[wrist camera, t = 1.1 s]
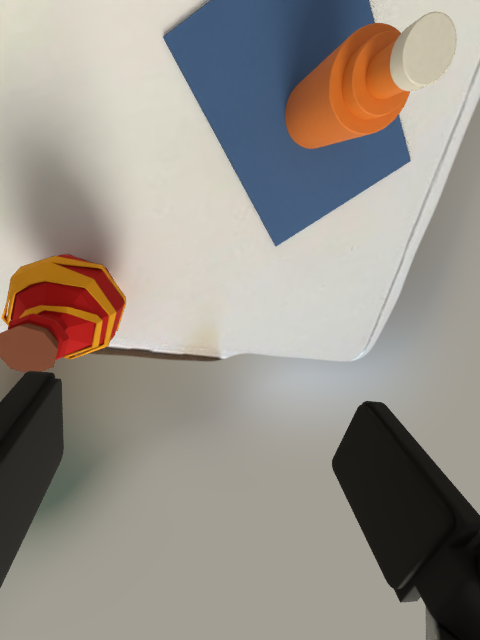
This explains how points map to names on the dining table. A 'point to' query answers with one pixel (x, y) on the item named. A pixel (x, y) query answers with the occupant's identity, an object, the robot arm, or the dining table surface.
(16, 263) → the dining table surface
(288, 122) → the bottle
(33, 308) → the potion bottle
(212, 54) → the cloth
